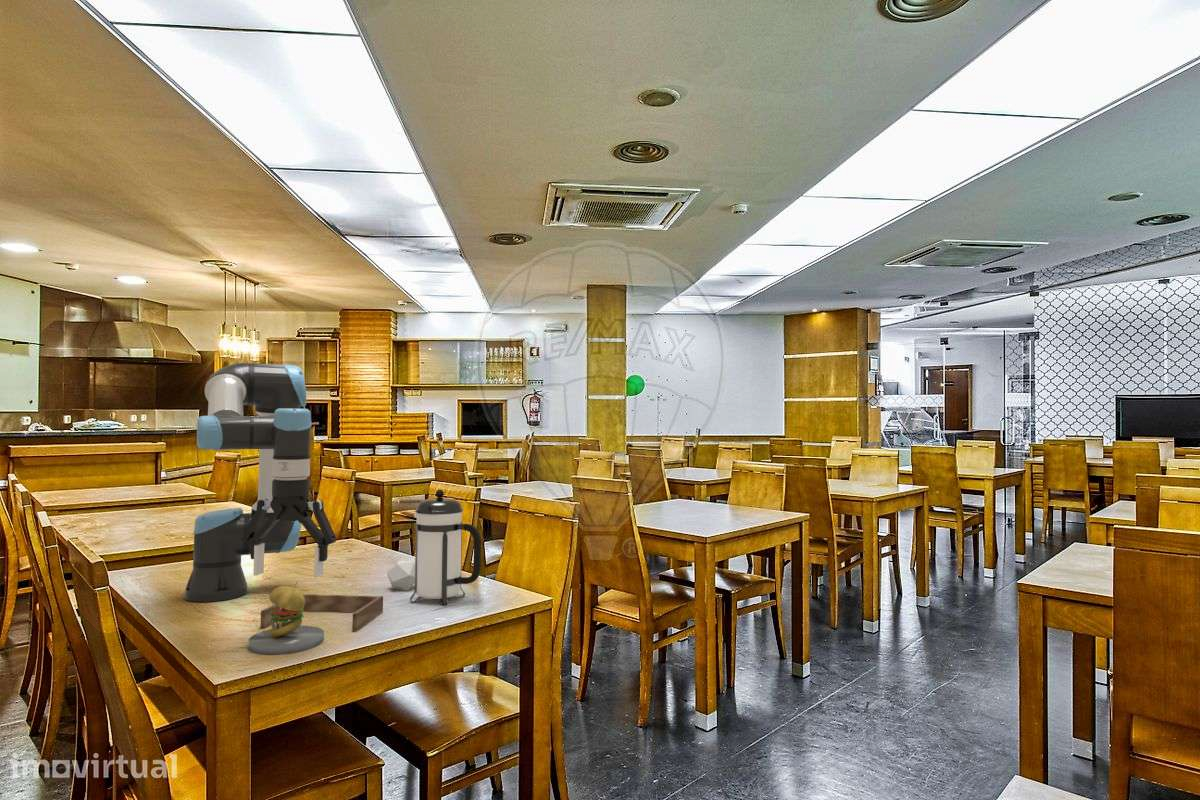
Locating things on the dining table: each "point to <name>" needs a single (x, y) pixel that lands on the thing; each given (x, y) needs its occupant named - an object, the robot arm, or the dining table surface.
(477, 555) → the coffee press
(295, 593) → the hamburger
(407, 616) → the dining table surface
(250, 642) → the plate
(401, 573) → the die
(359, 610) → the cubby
